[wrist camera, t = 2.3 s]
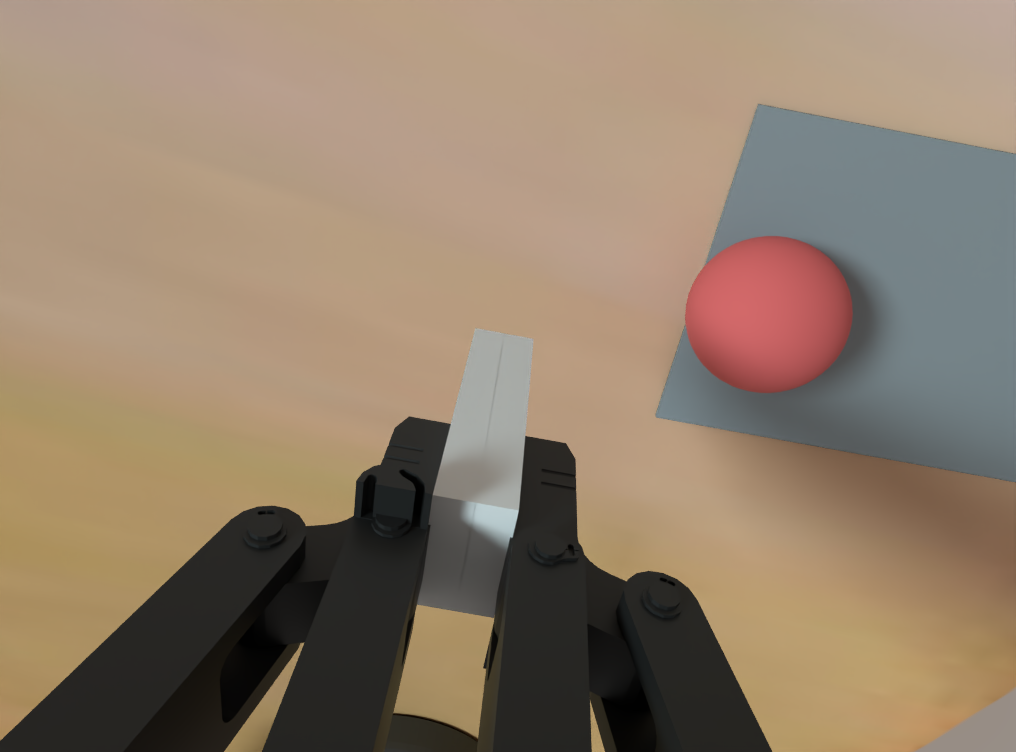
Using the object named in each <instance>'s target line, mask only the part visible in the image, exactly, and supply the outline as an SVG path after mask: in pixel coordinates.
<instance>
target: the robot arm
mask: <svg viewBox="0 0 1016 752" xmlns="http://www.w3.org/2000/svg"><path fill="white" fill-rule="evenodd" d="M532 350H533V339H531V338H525V337H520V336H515V335H509V334H504V333H498V332H493V331H488V330H482V329H477V328H475V332H474V336H473V340H472V344H471V348H470V352H469V356H468V360H467V363H466V367H465V371H464V375H463V379H462V383H461V387H460V391H459V395H458V398H457V402H456V406H455V410H454V414H453V418H452V422H451V424H448V423H442V422H437V421H431V420H426V419H420V418H415V417H408V418H407V419H405V420H404V421H403V422H402V423H400V424H399V425H398V426H397V427H396V428H395V429H394V432H393V434H392V437H391V440H390V442H389V446H388V447H387V450H386V453H385V456H384V458H383V460H382V463H381V465H377V466H373V467H372V468H370V469H368V470H366V471H364V472H363V473H362V474H361V476H360V477H359V478H358V479H357V481H356V494H355V508H354V516H353V517H351V518H349V519H347V520H345V521H342V522H339V523H335V524H328V525H317V526H305V523H304V522H303V520H302V519H301V517H300V516H299V515H298V514H296V513H294V512H293V511H291V510H289V509H287V508H282V507H277V506H262V507H256V508H252V509H249V510H246V511H243V512H242V513H240V514H239V515H237V516H236V517H234V518H233V519H231V520H230V521H229V522H228V523H227V524H226V525H225V526H224V527H223V528H222V529H221V530H220V531H219V532H218V533H217V534H216V535H215V536H214V537H213V538H212V539H210V540H209V541H208V542H207V543H206V544H205V545H204V546H203V547H202V548H201V549H200V550H199V551H198V552H197V553H196V554H195V555H194V556H193V557H192V558H191V559H190V560H189V561H188V562H186V563H185V564H184V565H183V566H182V567H181V568H180V569H179V570H178V571H177V572H176V573H175V574H174V575H173V576H172V577H171V578H170V579H169V580H168V581H167V582H166V583H165V584H164V585H162V586H161V587H160V588H159V589H158V590H157V591H156V592H155V593H154V594H153V595H152V596H151V597H150V598H149V599H148V600H147V601H146V602H145V603H144V604H143V605H142V606H141V607H140V608H138V609H137V610H136V611H135V612H134V613H133V614H132V615H131V616H130V617H129V618H128V619H127V620H126V621H125V622H124V623H123V624H122V625H121V626H120V627H119V628H118V629H117V630H116V631H114V632H113V633H112V634H111V635H110V636H109V637H108V638H107V639H106V640H105V641H104V642H103V643H102V644H101V645H100V646H99V647H98V648H97V649H96V650H95V651H94V652H93V653H92V654H90V655H89V656H88V657H87V658H86V659H85V660H84V661H83V662H82V663H81V664H80V665H79V666H78V667H77V668H76V669H75V670H74V671H73V672H72V673H71V674H70V675H69V676H68V677H66V678H65V679H64V680H63V681H62V682H61V683H60V684H59V685H58V686H57V687H56V688H55V689H54V690H53V691H52V692H51V693H50V694H49V695H48V696H47V697H46V698H45V699H44V700H43V701H41V702H40V703H39V704H38V705H37V706H36V707H35V708H34V709H33V710H32V711H31V712H30V713H29V714H28V715H27V716H26V717H25V718H24V719H23V720H22V721H21V722H20V723H19V724H17V725H16V726H15V727H14V728H13V729H12V730H11V731H10V732H9V733H8V734H7V735H6V736H5V737H4V738H3V739H2V740H1V741H0V752H224V751H225V749H226V748H227V747H228V745H229V744H230V743H231V741H232V740H233V738H234V737H235V736H236V734H237V733H238V731H239V730H240V729H241V727H242V726H243V724H244V723H245V722H246V720H247V719H248V718H249V716H250V715H251V713H252V712H253V711H254V709H255V708H256V706H257V705H258V704H259V702H260V701H261V700H262V698H263V697H264V695H265V694H266V693H267V691H268V690H269V688H270V687H271V686H272V684H273V683H274V681H275V680H276V679H277V677H278V676H279V675H280V673H281V672H282V670H283V669H284V668H285V666H286V665H287V663H288V662H289V661H290V659H291V658H292V657H293V655H294V654H295V652H296V651H297V650H298V648H299V645H300V643H303V642H305V643H304V646H303V648H302V651H301V653H300V656H299V658H298V661H297V663H296V666H295V669H294V671H293V674H292V676H291V679H290V681H289V684H288V687H287V689H286V692H285V694H284V697H283V699H282V702H281V704H280V707H279V710H278V712H277V715H276V717H275V720H274V722H273V725H272V727H271V730H270V733H269V735H268V738H267V740H266V743H265V745H264V748H263V750H262V752H592V749H591V720H590V700H591V704H592V707H593V711H594V714H595V718H596V721H597V725H598V728H599V732H600V735H601V739H602V742H603V746H604V749H605V752H772V750H771V748H770V746H769V744H768V742H767V740H766V738H765V736H764V734H763V732H762V730H761V728H760V726H759V724H758V722H757V720H756V718H755V716H754V714H753V712H752V710H751V708H750V706H749V704H748V702H747V700H746V698H745V696H744V694H743V691H742V689H741V687H740V685H739V683H738V681H737V679H736V677H735V675H734V673H733V671H732V669H731V667H730V665H729V663H728V661H727V659H726V657H725V655H724V653H723V651H722V649H721V647H720V645H719V643H718V641H717V639H716V637H715V635H714V633H713V631H712V629H711V627H710V625H709V623H708V621H707V619H706V617H705V615H704V613H703V611H702V609H701V607H700V605H699V603H698V601H697V599H696V598H695V596H694V595H693V593H692V592H691V591H690V589H689V588H688V587H686V586H685V585H684V584H682V583H681V582H680V581H679V580H677V579H675V578H673V577H671V576H668V575H666V574H664V573H659V572H652V571H646V572H641V573H636V574H635V575H634V576H632V577H631V578H629V579H628V580H627V581H624V580H622V579H620V578H618V577H615V576H613V575H611V574H609V573H607V572H605V571H603V570H601V569H599V568H598V567H597V566H595V565H594V564H593V563H592V562H590V561H589V560H588V558H587V557H586V556H585V555H584V552H583V549H582V546H581V545H580V544H579V543H578V538H577V502H576V478H575V476H576V463H575V458H574V456H573V454H572V453H571V451H570V449H569V448H568V446H567V444H566V443H561V442H555V441H550V440H544V439H539V438H533V437H528V436H525V432H526V421H527V409H528V397H529V385H530V374H531V362H532ZM417 604H418V605H423V606H429V607H435V608H441V609H446V610H452V611H458V612H463V613H469V614H475V615H481V616H486V617H492V618H494V615H495V618H494V624H493V629H492V633H491V637H490V641H489V646H488V650H487V654H486V658H485V663H484V667H483V668H485V669H486V676H485V684H484V693H483V701H482V710H481V719H480V727H479V736H478V742H476V741H475V740H473V739H472V738H470V737H468V736H467V735H465V734H463V733H461V732H459V731H456V730H454V729H452V728H449V727H447V726H444V725H441V724H438V723H435V722H432V721H428V720H424V719H419V718H414V717H407V716H398V715H393V712H394V707H395V703H396V699H397V694H398V690H399V686H400V681H401V677H402V673H403V668H404V664H405V660H406V655H407V651H408V647H409V642H410V638H411V634H412V629H413V623H414V616H415V610H416V606H417Z"/></svg>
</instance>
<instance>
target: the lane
mask: <svg viewBox="0 0 1016 752" xmlns="http://www.w3.org/2000/svg"><path fill="white" fill-rule="evenodd" d="M763 236H781V237H788V238H792V239H796V240H799V241H802V242H805V243H807V244H809V245H811V246H813V247H815V248H816V249H818V250H820V251H821V252H822V253H824V254H825V255H826V256H827V257H828V258H830V259H831V260H832V262H833V263H834V264H835V265H836V266H837V268H838V269H839V270H840V272H841V273H842V275H843V277H844V278H845V281H846V283H847V286H848V288H849V291H850V295H851V299H852V311H853V316H852V325H851V329H850V333H849V336H848V339H847V341H846V344H845V346H844V348H843V350H842V352H841V353H840V355H839V356H838V357H837V359H836V360H835V361H834V362H833V363H832V365H831V366H830V367H829V368H828V369H827V370H825V371H824V372H823V373H822V374H821V375H819V376H818V377H817V378H815V379H814V380H812V381H810V382H808V383H807V384H804V385H802V386H800V387H797V388H794V389H791V390H787V391H782V392H775V393H758V392H751V391H746V390H742V389H739V388H736V387H733V386H731V385H729V384H727V383H725V382H723V381H722V380H720V379H718V378H717V377H716V376H714V375H713V374H712V373H711V372H710V371H709V370H708V369H707V368H706V367H705V366H704V365H703V364H702V363H701V361H700V360H699V359H698V357H697V356H696V354H695V352H694V350H693V348H692V346H691V344H690V341H689V338H688V334H687V329H686V324H685V327H684V330H683V333H682V336H681V339H680V342H679V345H678V348H677V351H676V354H675V357H674V360H673V363H672V366H671V369H670V372H669V375H668V378H667V382H666V385H665V388H664V391H663V394H662V397H661V400H660V403H659V406H658V409H657V412H656V417H657V418H663V419H668V420H674V421H679V422H685V423H690V424H696V425H701V426H707V427H713V428H718V429H724V430H729V431H735V432H740V433H746V434H751V435H757V436H762V437H768V438H773V439H779V440H784V441H790V442H796V443H801V444H807V445H812V446H818V447H823V448H829V449H834V450H840V451H845V452H851V453H856V454H862V455H868V456H873V457H879V458H884V459H890V460H895V461H901V462H906V463H912V464H917V465H923V466H928V467H934V468H939V469H945V470H951V471H956V472H962V473H967V474H973V475H978V476H984V477H989V478H995V479H1000V480H1006V481H1011V482H1016V154H1013V153H1008V152H1003V151H998V150H992V149H987V148H982V147H977V146H972V145H967V144H962V143H956V142H951V141H946V140H941V139H936V138H931V137H926V136H920V135H915V134H910V133H905V132H900V131H895V130H889V129H884V128H879V127H874V126H869V125H864V124H859V123H853V122H848V121H843V120H838V119H833V118H828V117H823V116H817V115H812V114H807V113H802V112H797V111H792V110H787V109H781V108H776V107H771V106H766V105H761V104H758V106H757V109H756V112H755V115H754V118H753V121H752V125H751V128H750V131H749V134H748V137H747V140H746V143H745V146H744V149H743V152H742V155H741V158H740V161H739V164H738V167H737V170H736V173H735V176H734V179H733V182H732V185H731V188H730V191H729V194H728V197H727V200H726V203H725V206H724V209H723V212H722V215H721V218H720V221H719V224H718V227H717V230H716V233H715V236H714V239H713V242H712V245H711V248H710V251H709V255H708V258H707V261H706V264H707V263H708V262H709V261H710V260H711V259H712V258H713V257H715V256H716V255H717V254H718V253H720V252H721V251H723V250H724V249H726V248H727V247H729V246H731V245H733V244H735V243H738V242H741V241H743V240H747V239H751V238H755V237H763ZM706 264H705V265H706Z"/></svg>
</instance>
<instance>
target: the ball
mask: <svg viewBox="0 0 1016 752" xmlns="http://www.w3.org/2000/svg"><path fill="white" fill-rule="evenodd" d="M852 316H853V311H852V299H851V295H850V291H849V288H848V286H847V283H846V281H845V278H844V277H843V275H842V273H841V272H840V270H839V269H838V268H837V266H836V265H835V264H834V263H833V262H832V260H831V259H830V258H828V257H827V256H826V255H825V254H824V253H822V252H821V251H820V250H818V249H816V248H815V247H813V246H811V245H809V244H807V243H805V242H802V241H799V240H796V239H792V238H788V237H781V236H763V237H755V238H751V239H747V240H743V241H741V242H738V243H735V244H733V245H731V246H729V247H727V248H726V249H724V250H723V251H721V252H720V253H718V254H717V255H716V256H715V257H713V258H712V259H711V260H710V261H709V262H708V263H707V264H706V265H705V266H704V267H703V269H702V270H701V272H700V273H699V274H698V276H697V278H696V279H695V281H694V283H693V285H692V287H691V290H690V292H689V295H688V299H687V304H686V313H685V322H686V329H687V334H688V338H689V341H690V344H691V346H692V348H693V350H694V352H695V354H696V356H697V357H698V359H699V360H700V361H701V363H702V364H703V365H704V366H705V367H706V368H707V369H708V370H709V371H710V372H711V373H712V374H713V375H714V376H716V377H717V378H718V379H720V380H722V381H723V382H725V383H727V384H729V385H731V386H733V387H736V388H739V389H742V390H746V391H751V392H758V393H775V392H782V391H787V390H791V389H794V388H797V387H800V386H802V385H804V384H807V383H808V382H810V381H812V380H814V379H815V378H817V377H818V376H819V375H821V374H822V373H823V372H824V371H825V370H827V369H828V368H829V367H830V366H831V365H832V363H833V362H834V361H835V360H836V359H837V357H838V356H839V355H840V353H841V352H842V350H843V348H844V346H845V344H846V341H847V339H848V336H849V333H850V329H851V325H852Z"/></svg>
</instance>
